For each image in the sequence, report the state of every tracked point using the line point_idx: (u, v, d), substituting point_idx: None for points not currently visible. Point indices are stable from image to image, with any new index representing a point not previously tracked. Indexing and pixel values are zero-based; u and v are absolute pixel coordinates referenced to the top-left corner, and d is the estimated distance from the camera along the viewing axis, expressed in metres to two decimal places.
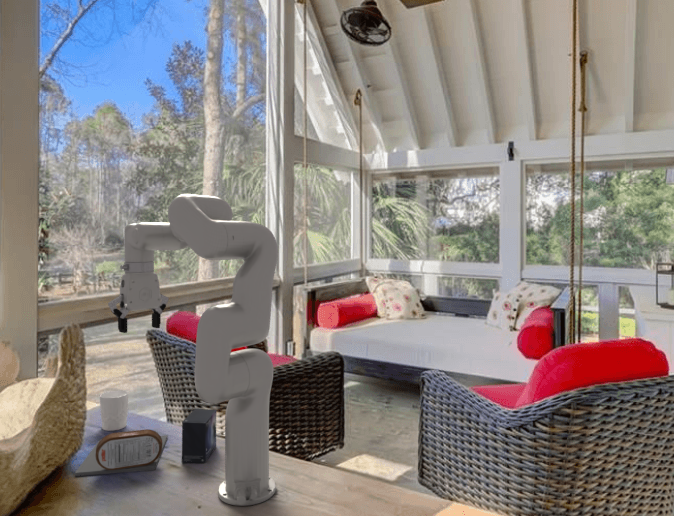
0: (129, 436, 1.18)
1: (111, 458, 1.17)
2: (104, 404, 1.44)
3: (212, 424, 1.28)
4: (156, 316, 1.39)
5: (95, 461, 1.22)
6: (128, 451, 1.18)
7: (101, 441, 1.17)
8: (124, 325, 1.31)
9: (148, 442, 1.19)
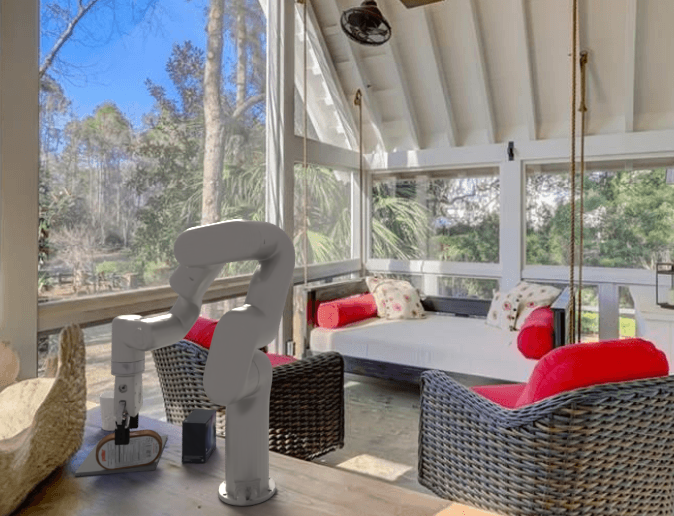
0: None
1: (111, 458, 1.17)
2: (104, 404, 1.44)
3: (212, 424, 1.28)
4: (135, 415, 1.24)
5: (95, 461, 1.22)
6: (128, 451, 1.18)
7: (101, 441, 1.17)
8: (127, 436, 1.14)
9: (148, 442, 1.19)
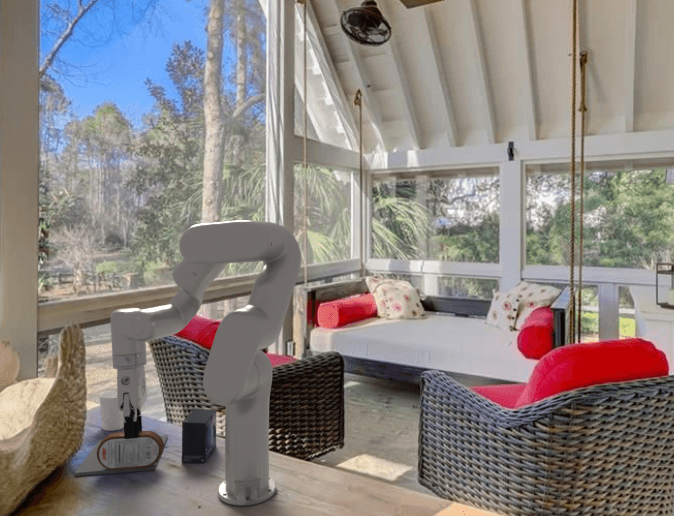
0: None
1: (111, 457, 1.17)
2: (104, 404, 1.44)
3: (212, 424, 1.28)
4: (138, 419, 1.20)
5: (95, 461, 1.22)
6: (128, 451, 1.17)
7: (103, 439, 1.17)
8: (136, 429, 1.17)
9: (148, 444, 1.18)
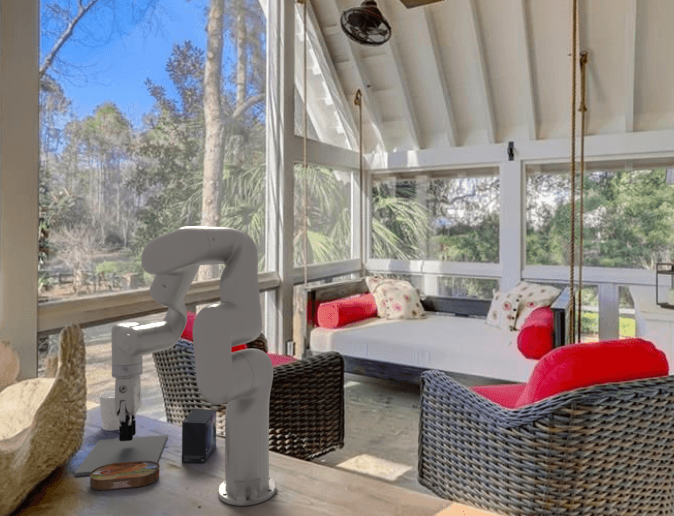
0: (121, 488, 1.10)
1: None
2: (104, 404, 1.44)
3: (212, 424, 1.28)
4: (132, 423, 1.32)
5: (95, 461, 1.22)
6: None
7: (92, 483, 1.09)
8: (130, 432, 1.28)
9: None
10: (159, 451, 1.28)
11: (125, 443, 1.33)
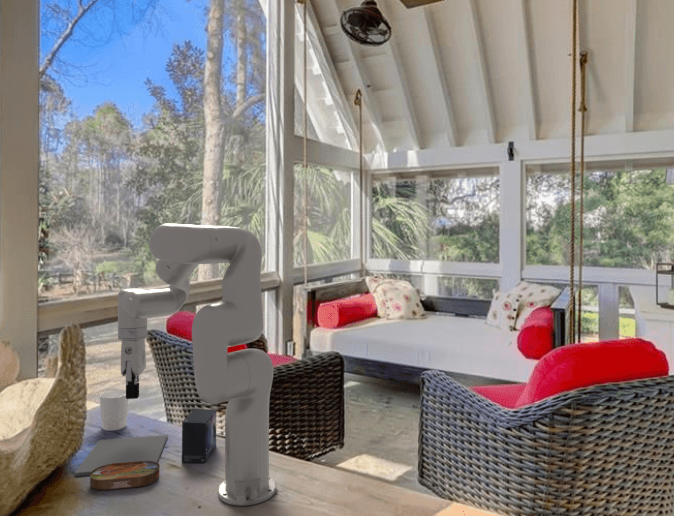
0: (121, 488, 1.10)
1: None
2: (104, 404, 1.44)
3: (212, 424, 1.28)
4: None
5: (95, 461, 1.22)
6: None
7: (92, 483, 1.09)
8: (136, 391, 1.37)
9: None
10: (159, 451, 1.28)
11: (125, 443, 1.33)
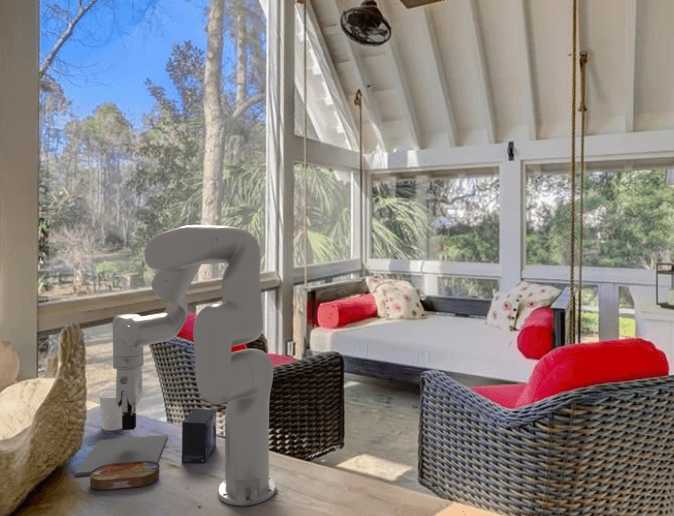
0: (121, 488, 1.10)
1: None
2: (104, 404, 1.44)
3: (212, 424, 1.28)
4: None
5: (95, 461, 1.22)
6: None
7: (92, 483, 1.09)
8: (133, 421, 1.31)
9: None
10: (159, 451, 1.28)
11: (125, 443, 1.33)
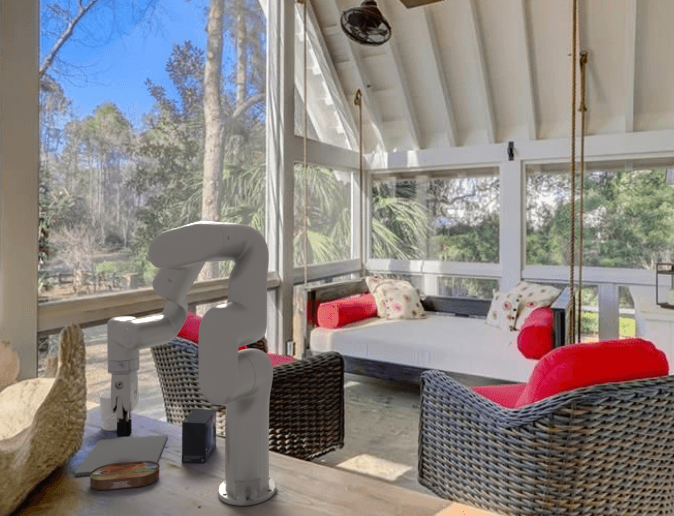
0: (121, 488, 1.10)
1: None
2: (104, 404, 1.44)
3: (212, 424, 1.28)
4: None
5: (95, 461, 1.22)
6: None
7: (92, 483, 1.09)
8: (128, 428, 1.26)
9: None
10: (159, 451, 1.28)
11: (125, 443, 1.33)
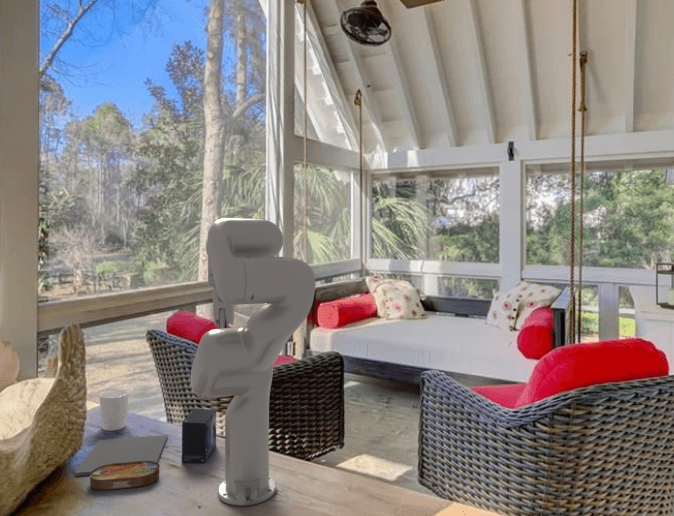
0: (121, 488, 1.10)
1: None
2: (104, 404, 1.44)
3: (212, 424, 1.28)
4: None
5: (95, 461, 1.22)
6: None
7: (93, 483, 1.09)
8: None
9: None
10: (159, 451, 1.28)
11: (125, 443, 1.33)
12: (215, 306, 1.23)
